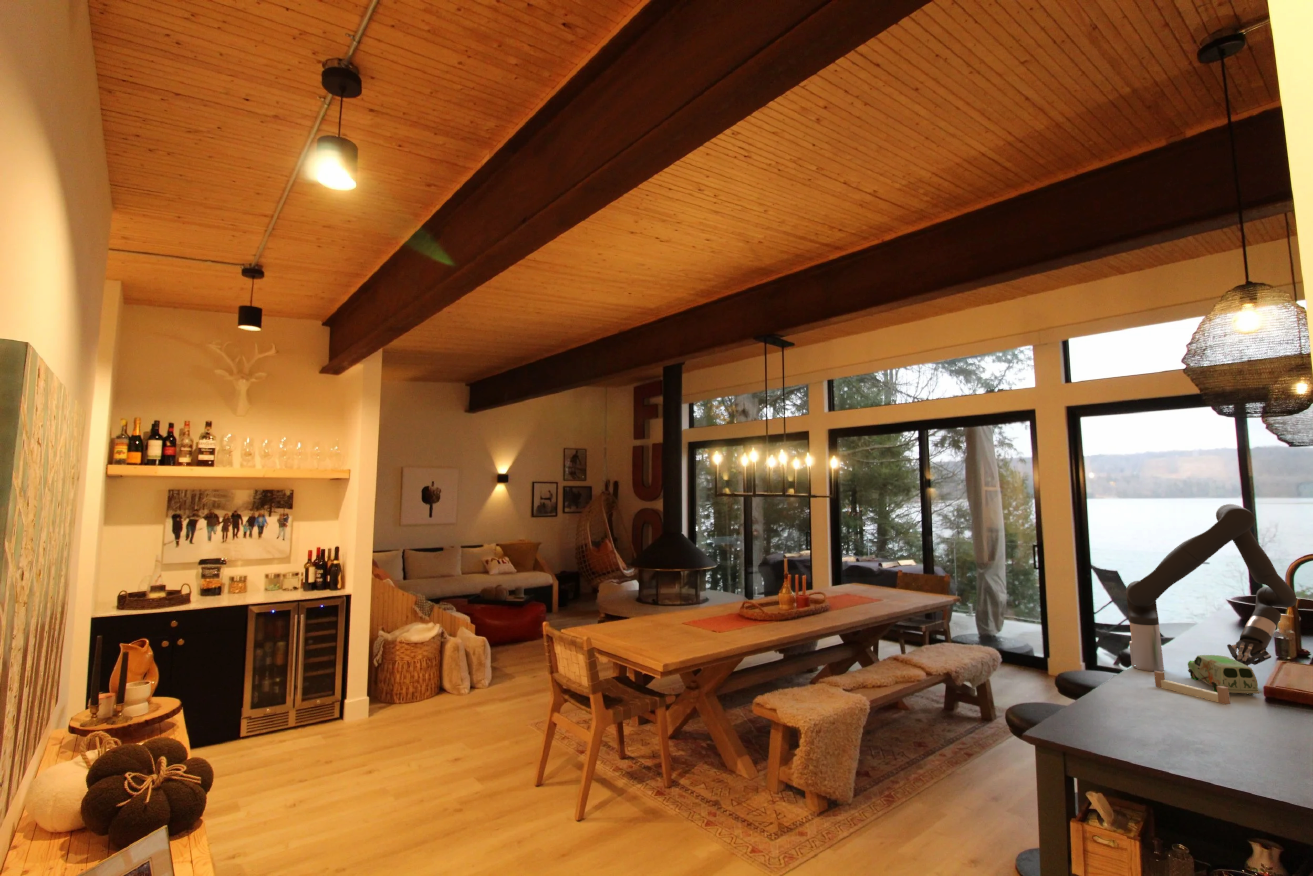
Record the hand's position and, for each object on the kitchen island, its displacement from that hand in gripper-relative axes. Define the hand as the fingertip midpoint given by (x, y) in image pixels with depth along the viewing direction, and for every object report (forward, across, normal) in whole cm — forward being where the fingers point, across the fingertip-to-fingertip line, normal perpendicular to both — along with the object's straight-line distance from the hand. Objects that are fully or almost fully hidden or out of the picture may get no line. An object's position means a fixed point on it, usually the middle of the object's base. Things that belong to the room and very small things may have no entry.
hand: (1238, 670), depth 226 cm
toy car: (+9, -1, -1) cm, 9 cm away
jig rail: (+22, +1, -14) cm, 26 cm away
